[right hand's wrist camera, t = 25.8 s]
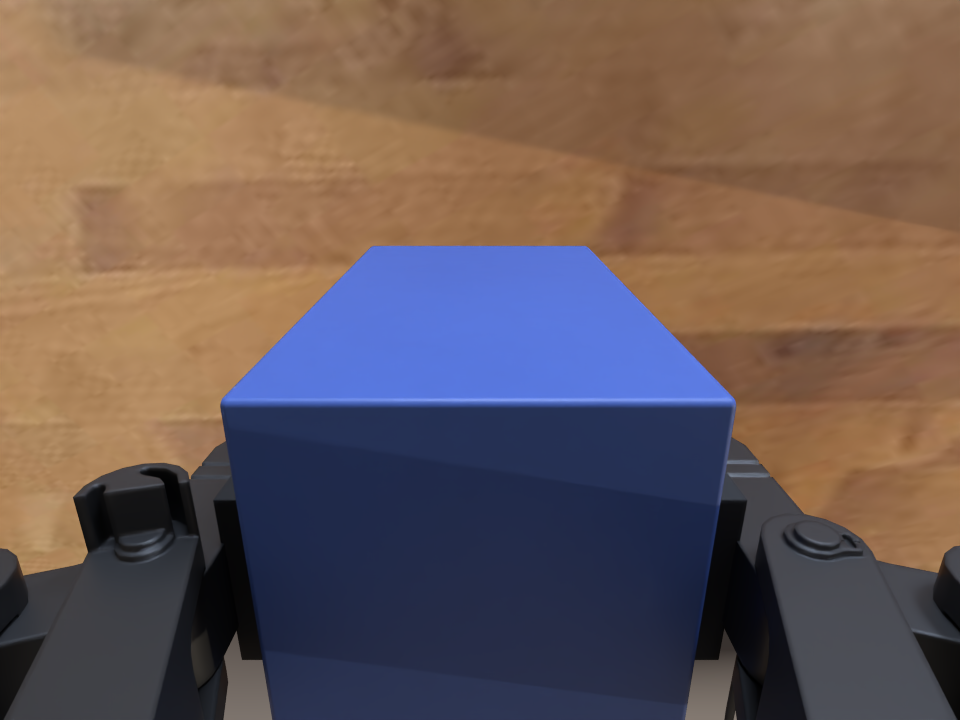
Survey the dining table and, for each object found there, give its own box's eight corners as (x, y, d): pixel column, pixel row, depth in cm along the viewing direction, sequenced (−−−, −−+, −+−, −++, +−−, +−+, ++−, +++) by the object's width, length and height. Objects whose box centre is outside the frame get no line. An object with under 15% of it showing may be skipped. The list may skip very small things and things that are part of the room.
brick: (384, 468, 17) (285, 813, 8) (370, 245, 15) (215, 400, 6) (574, 468, 17) (671, 812, 8) (588, 245, 15) (741, 400, 6)
